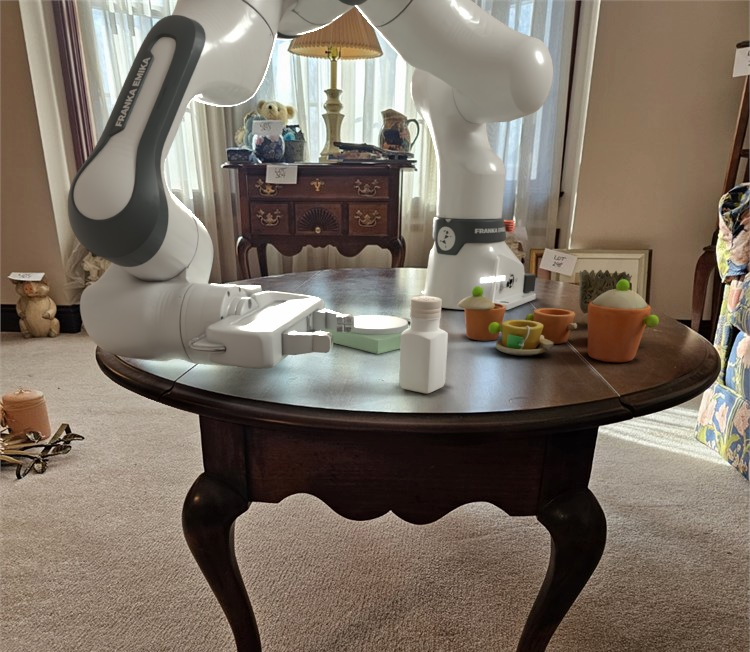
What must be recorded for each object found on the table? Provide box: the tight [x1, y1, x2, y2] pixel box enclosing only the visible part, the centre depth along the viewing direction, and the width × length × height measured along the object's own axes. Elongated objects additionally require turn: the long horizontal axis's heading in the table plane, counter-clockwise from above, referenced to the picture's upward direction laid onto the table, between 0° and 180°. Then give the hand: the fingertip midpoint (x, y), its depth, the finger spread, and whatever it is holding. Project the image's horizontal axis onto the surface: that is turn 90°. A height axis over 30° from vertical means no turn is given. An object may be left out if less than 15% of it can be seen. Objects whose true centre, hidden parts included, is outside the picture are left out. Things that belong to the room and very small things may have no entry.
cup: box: [578, 269, 633, 327], centre depth 99 cm, size 8×7×8 cm
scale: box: [320, 314, 411, 355], centre depth 91 cm, size 12×11×3 cm
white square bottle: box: [398, 295, 449, 395], centre depth 69 cm, size 4×4×10 cm
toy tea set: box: [458, 279, 660, 363], centre depth 87 cm, size 26×16×10 cm, turn 80°
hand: (343, 332), depth 71 cm, fingers open, 8 cm apart
